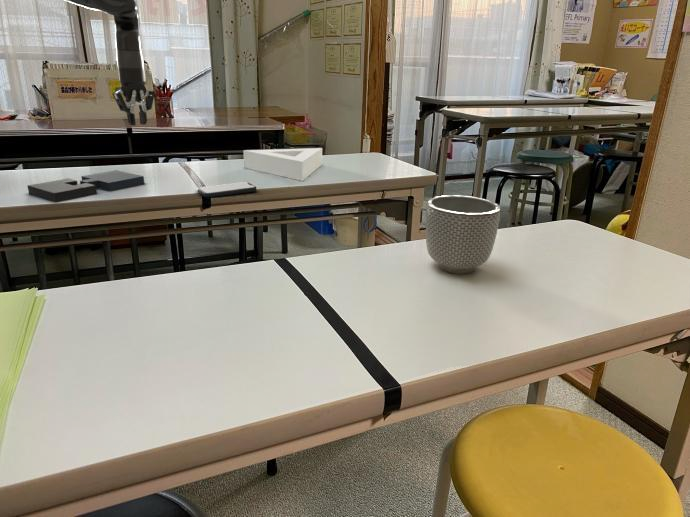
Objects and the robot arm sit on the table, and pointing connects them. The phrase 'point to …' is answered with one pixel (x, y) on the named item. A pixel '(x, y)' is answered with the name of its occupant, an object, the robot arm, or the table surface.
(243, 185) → the phone case
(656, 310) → the table surface
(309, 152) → the triangle block
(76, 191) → the black pad
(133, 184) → the slate pad
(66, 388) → the table surface
